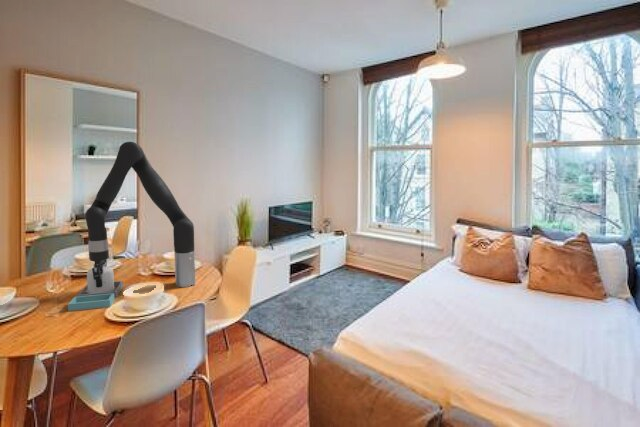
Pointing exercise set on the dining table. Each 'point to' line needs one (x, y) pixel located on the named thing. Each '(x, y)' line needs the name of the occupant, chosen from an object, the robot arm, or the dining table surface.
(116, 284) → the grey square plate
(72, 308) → the tray
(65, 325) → the dining table surface
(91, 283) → the grey rounded block
